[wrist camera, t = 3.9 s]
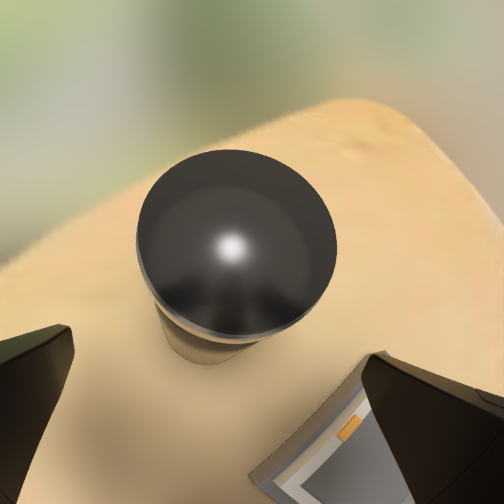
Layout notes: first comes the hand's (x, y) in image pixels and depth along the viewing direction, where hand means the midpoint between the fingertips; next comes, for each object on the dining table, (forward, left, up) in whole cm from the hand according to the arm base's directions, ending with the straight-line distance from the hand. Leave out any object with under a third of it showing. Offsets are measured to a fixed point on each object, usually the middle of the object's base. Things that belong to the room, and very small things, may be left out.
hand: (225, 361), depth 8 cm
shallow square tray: (-13, -3, -12) cm, 17 cm away
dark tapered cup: (+2, -2, -12) cm, 12 cm away
